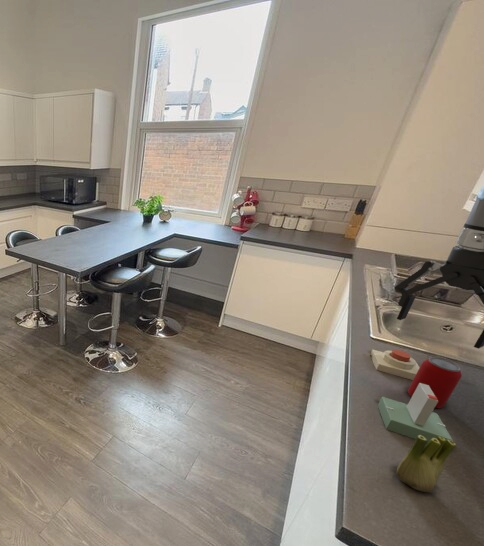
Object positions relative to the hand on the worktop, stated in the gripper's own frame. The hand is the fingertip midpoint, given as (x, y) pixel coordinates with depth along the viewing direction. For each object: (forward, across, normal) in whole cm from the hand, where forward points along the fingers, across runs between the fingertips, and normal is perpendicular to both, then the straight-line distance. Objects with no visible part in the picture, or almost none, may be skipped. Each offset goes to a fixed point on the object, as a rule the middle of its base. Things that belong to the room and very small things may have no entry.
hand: (436, 331), depth 76 cm
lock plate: (+20, +6, -11) cm, 24 cm away
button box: (+20, -8, +14) cm, 26 cm away
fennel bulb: (+21, +13, -29) cm, 38 cm away
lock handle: (+17, +6, -11) cm, 22 cm away
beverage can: (+21, +3, +4) cm, 21 cm away
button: (+17, -7, +14) cm, 23 cm away
